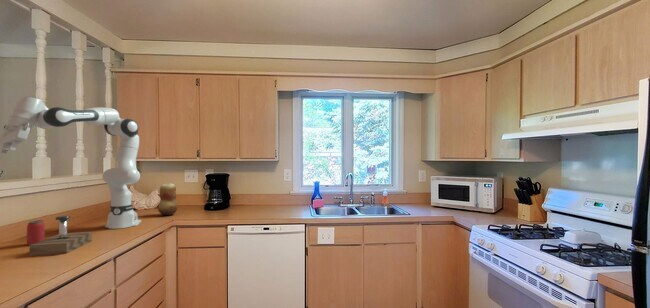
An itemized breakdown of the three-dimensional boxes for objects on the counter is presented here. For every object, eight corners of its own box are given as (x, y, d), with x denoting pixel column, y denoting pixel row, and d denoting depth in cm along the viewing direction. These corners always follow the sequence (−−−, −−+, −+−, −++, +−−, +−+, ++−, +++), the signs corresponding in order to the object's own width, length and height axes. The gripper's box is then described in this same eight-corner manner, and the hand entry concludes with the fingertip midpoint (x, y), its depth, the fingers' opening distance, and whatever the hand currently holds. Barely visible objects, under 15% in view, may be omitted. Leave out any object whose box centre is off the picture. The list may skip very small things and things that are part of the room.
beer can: (43, 241, 154) (43, 219, 154) (45, 243, 150) (45, 221, 150) (26, 244, 149) (26, 221, 149) (27, 246, 145) (27, 223, 145)
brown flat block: (59, 242, 151) (59, 233, 151) (91, 240, 154) (91, 231, 154) (29, 255, 131) (29, 245, 132) (66, 253, 135) (66, 243, 135)
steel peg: (60, 246, 145) (60, 215, 145) (73, 245, 146) (73, 215, 146) (52, 250, 140) (52, 218, 140) (65, 249, 141) (65, 217, 141)
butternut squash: (155, 217, 212) (155, 184, 212) (161, 213, 225) (161, 183, 225) (175, 216, 215) (175, 184, 215) (180, 212, 228) (180, 182, 228)
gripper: (37, 124, 136) (25, 151, 131) (19, 132, 145) (7, 156, 140) (20, 119, 131) (7, 146, 126) (2, 126, 140) (-11, 152, 135)
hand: (7, 151), depth 133 cm, fingers open, 8 cm apart
